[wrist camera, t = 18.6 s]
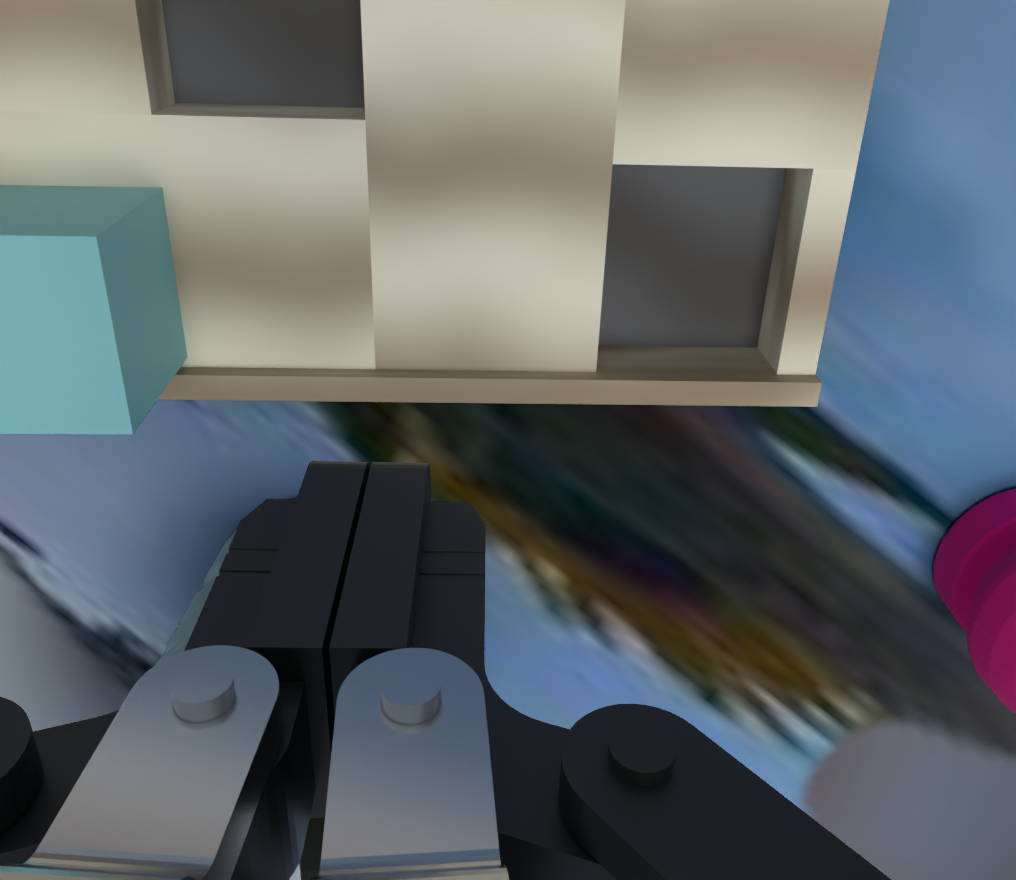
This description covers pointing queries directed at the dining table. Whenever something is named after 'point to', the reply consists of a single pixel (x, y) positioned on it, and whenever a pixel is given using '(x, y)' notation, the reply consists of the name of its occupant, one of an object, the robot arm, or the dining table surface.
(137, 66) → the tray
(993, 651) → the pepper mill
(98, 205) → the teal block
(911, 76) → the dining table surface
